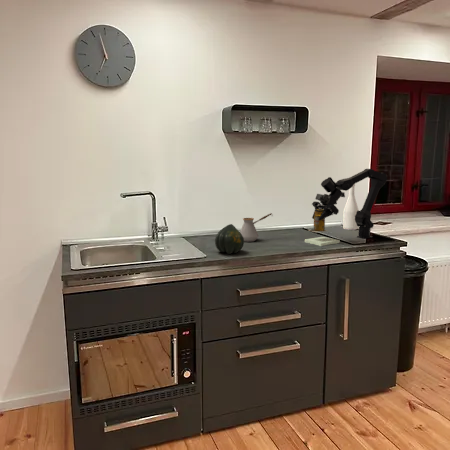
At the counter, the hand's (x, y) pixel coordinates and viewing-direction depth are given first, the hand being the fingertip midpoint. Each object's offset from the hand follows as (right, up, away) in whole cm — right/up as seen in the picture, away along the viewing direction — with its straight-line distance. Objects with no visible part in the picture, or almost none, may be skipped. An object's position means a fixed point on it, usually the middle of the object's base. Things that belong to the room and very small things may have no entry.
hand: (315, 219), depth 243 cm
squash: (-48, -17, -18) cm, 54 cm away
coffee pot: (-32, -12, +13) cm, 37 cm away
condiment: (+1, -7, +2) cm, 7 cm away
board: (+4, -13, +2) cm, 14 cm away
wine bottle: (+32, -6, +43) cm, 54 cm away
